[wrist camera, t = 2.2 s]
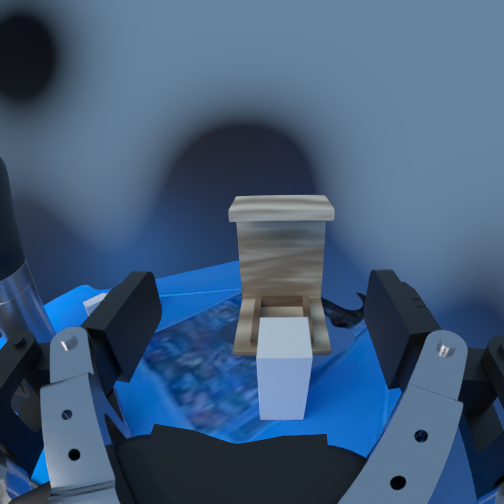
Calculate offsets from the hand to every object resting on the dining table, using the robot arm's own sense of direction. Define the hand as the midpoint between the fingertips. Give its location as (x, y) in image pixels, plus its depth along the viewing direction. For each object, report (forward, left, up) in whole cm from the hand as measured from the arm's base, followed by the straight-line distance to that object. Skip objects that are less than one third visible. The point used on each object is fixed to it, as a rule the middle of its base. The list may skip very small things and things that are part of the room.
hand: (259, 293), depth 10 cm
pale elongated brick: (-5, +11, -24) cm, 27 cm away
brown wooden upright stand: (-13, +25, -24) cm, 37 cm away
